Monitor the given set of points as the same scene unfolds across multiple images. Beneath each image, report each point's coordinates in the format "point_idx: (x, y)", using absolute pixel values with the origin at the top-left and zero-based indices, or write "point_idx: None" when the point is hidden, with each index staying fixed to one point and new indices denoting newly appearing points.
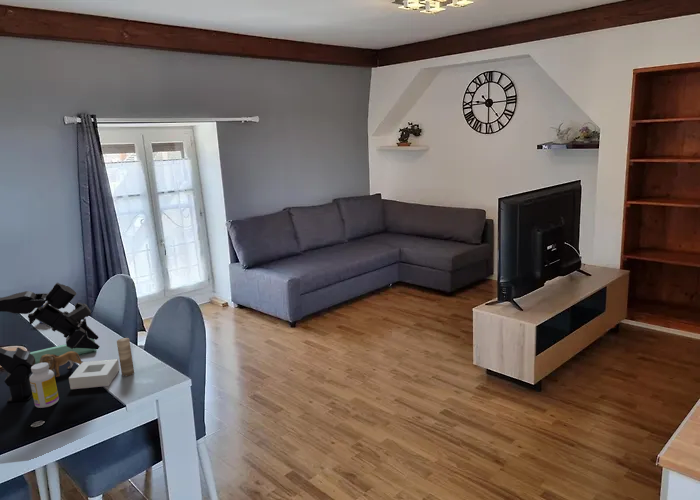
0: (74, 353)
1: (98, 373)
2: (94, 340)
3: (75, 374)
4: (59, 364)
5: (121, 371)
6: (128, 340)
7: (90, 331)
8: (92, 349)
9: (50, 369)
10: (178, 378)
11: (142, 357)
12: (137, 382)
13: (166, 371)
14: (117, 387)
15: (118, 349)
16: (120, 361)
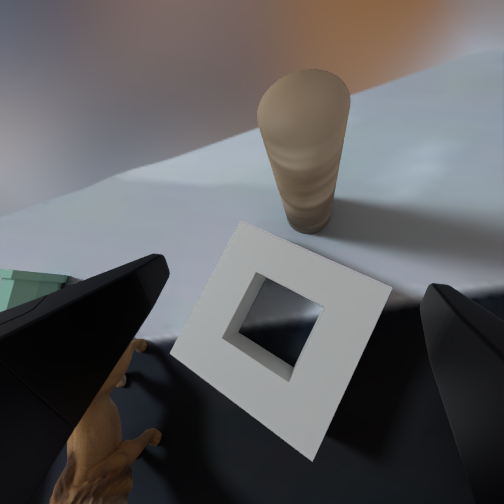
0: None
1: (349, 319)
2: (24, 271)
3: (285, 417)
4: (118, 442)
5: (310, 228)
6: (331, 73)
7: (79, 312)
8: (58, 286)
9: (131, 486)
10: (473, 66)
11: (209, 160)
12: (415, 193)
13: (378, 100)
14: (416, 264)
15: (314, 177)
16: (317, 209)
